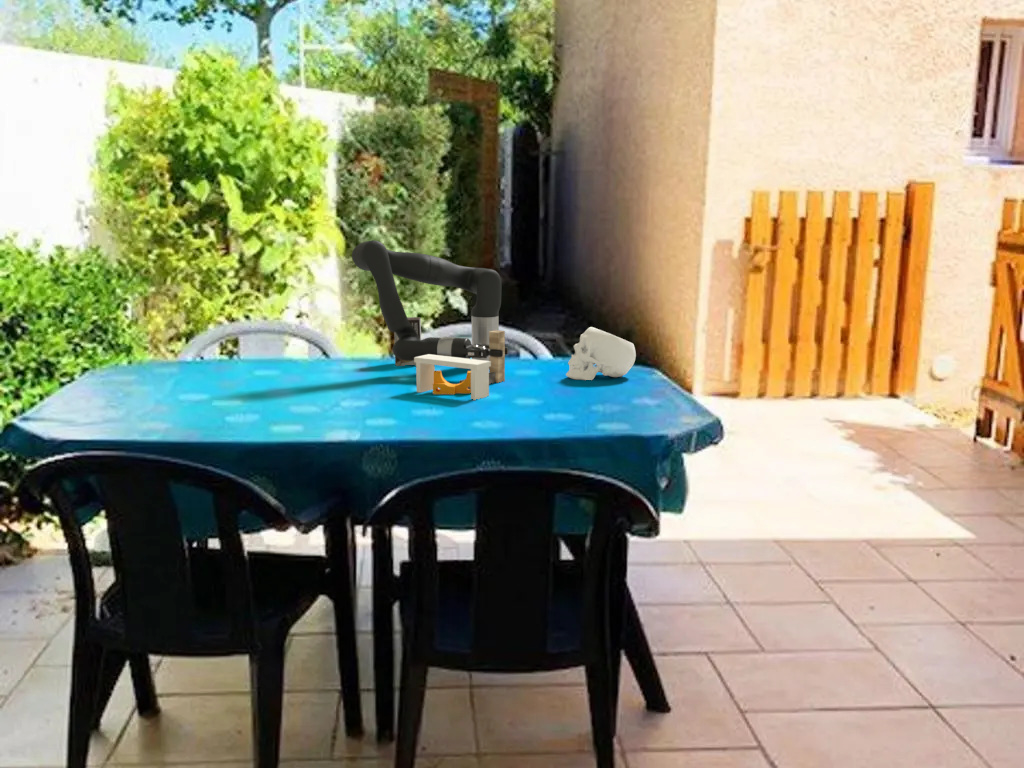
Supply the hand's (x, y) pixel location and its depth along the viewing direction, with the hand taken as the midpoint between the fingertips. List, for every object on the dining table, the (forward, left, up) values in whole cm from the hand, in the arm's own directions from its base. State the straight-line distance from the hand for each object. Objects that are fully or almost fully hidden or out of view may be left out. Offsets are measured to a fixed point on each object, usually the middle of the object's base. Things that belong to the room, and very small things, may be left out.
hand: (504, 352), depth 320 cm
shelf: (+24, -3, -10) cm, 26 cm away
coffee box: (-8, -46, -10) cm, 47 cm away
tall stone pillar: (+9, -3, -10) cm, 13 cm away
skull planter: (-23, +21, -10) cm, 33 cm away
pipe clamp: (+23, -3, -10) cm, 25 cm away
